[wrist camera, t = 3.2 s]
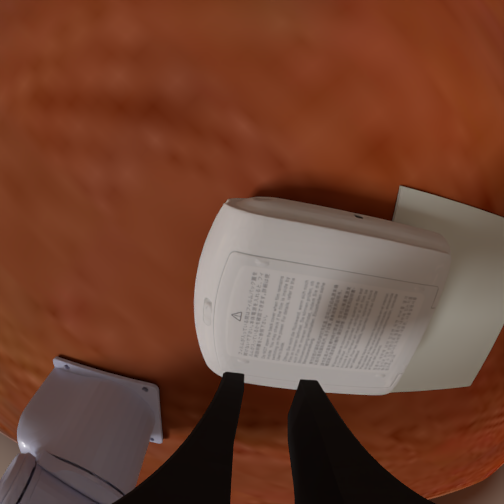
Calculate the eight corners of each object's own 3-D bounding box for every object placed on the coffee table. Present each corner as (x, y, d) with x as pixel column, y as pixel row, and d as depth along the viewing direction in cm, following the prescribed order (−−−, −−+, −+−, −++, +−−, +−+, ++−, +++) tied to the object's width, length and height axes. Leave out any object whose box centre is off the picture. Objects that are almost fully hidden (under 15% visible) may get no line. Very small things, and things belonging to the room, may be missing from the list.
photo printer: (427, 221, 16) (214, 181, 16) (464, 246, 12) (195, 195, 12) (376, 362, 20) (199, 340, 20) (392, 405, 16) (184, 384, 16)
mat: (335, 389, 21) (335, 392, 21) (399, 185, 16) (401, 186, 15) (468, 384, 21) (469, 386, 21) (535, 229, 16) (537, 230, 16)
